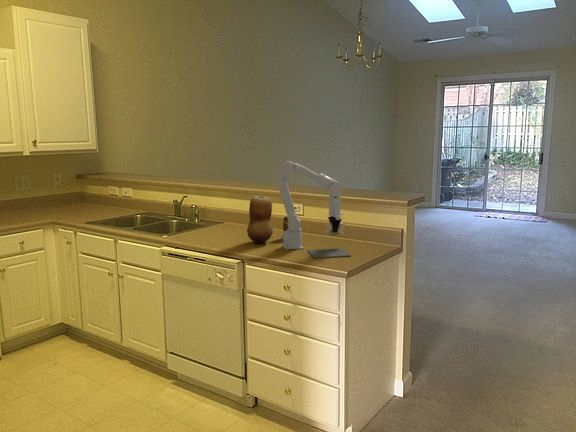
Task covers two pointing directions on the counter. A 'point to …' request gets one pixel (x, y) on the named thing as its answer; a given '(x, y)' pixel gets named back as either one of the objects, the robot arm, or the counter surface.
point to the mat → (329, 253)
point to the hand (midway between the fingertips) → (334, 231)
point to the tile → (330, 230)
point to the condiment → (285, 225)
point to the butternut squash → (260, 219)
